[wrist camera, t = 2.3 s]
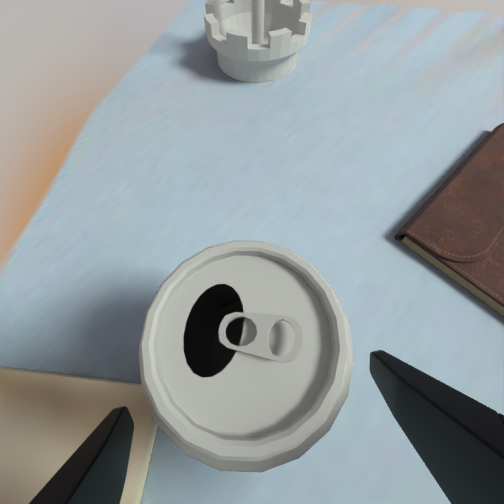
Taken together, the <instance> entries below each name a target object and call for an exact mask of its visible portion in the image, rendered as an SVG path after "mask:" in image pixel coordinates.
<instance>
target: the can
mask: <svg viewBox="0 0 504 504" xmlns="http://www.w3.org/2000/svg"><path fill="white" fill-rule="evenodd" d="M138 355H139V367H140V378H141V389H142V391H143V394H144V396H145V398H146V401H147V403H148V405H149V408H150V410H151V412H152V415H153V417H154V419H155V421H156V424H157V425H158V426H159V427H160V429H161V430H162V431H163V432H164V433H165V434H166V435H167V436H168V437H169V438H170V439H171V440H172V441H173V442H174V443H175V444H176V446H177V447H178V448H179V449H180V450H181V451H182V452H183V453H184V454H186V455H188V456H190V457H192V458H194V459H197V460H199V461H201V462H203V463H205V464H207V465H209V466H212V467H214V468H216V469H218V470H220V471H239V472H264V471H266V470H269V469H271V468H274V467H277V466H279V465H282V464H285V463H287V462H290V461H293V460H295V459H298V458H300V457H301V456H302V455H303V454H304V453H305V452H306V451H308V450H309V449H310V448H311V447H312V446H313V445H314V444H315V443H316V442H317V441H319V440H320V439H321V438H322V437H323V436H324V435H325V434H326V433H327V432H328V431H329V430H330V428H331V427H332V425H333V423H334V421H335V419H336V417H337V415H338V413H339V411H340V409H341V407H342V406H343V404H344V402H345V400H346V398H347V396H348V391H349V385H350V379H351V373H352V367H353V361H354V355H353V348H352V341H351V334H350V326H349V322H348V320H347V317H346V315H345V313H344V311H343V309H342V306H341V304H340V302H339V300H338V297H337V295H336V293H335V292H334V291H333V289H332V287H331V286H330V285H329V284H328V283H327V281H326V280H325V279H324V278H323V277H322V276H321V274H320V273H319V272H318V271H317V270H316V269H315V267H314V266H313V265H312V264H310V263H308V262H307V261H305V260H304V259H302V258H301V257H299V256H298V255H296V254H295V253H293V252H292V251H290V250H289V249H286V248H282V247H279V246H276V245H273V244H269V243H266V242H263V241H231V242H227V243H223V244H219V245H215V246H211V247H208V248H206V249H204V250H202V251H201V252H199V253H197V254H196V255H194V256H192V257H190V258H189V259H187V260H185V261H184V262H182V263H181V264H180V265H179V266H178V267H177V268H176V269H175V270H174V271H173V272H172V274H171V275H170V276H169V277H168V278H167V279H166V280H165V281H164V282H163V283H162V284H161V286H160V288H159V289H158V291H157V293H156V295H155V297H154V299H153V301H152V303H151V304H150V306H149V308H148V310H147V312H146V316H145V321H144V326H143V331H142V335H141V340H140V345H139V350H138Z"/></svg>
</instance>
